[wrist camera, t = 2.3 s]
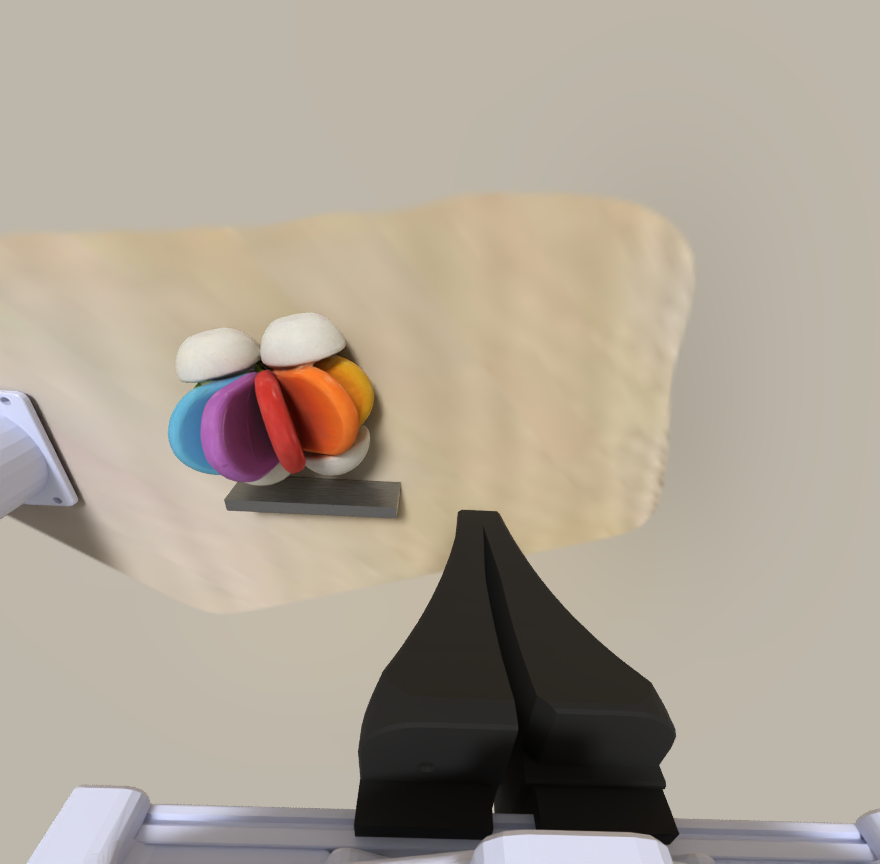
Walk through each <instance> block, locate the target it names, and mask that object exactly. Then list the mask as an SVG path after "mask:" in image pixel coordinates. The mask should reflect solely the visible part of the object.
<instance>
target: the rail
mask: <svg viewBox="0 0 880 864" xmlns="http://www.w3.org/2000/svg"><path fill="white" fill-rule="evenodd" d="M399 498H400V482H381V481H360V480H340V479H319V478H298V477H286V478H285V479H283V480H281V481H279V482H277V483H274V484H271V485H265V486H257V485H250V484H247V483H244V482H237V484H236V485H235V486H234V488H233V489H232V490H231V492H230V493H229V494H228V495H227V497H226V498H225V499H224V501H225V505H226V508H227V510H228V511H250V512H271V513H293V514H315V515H336V516H358V517H380V518H397V512H398V505H399Z"/></svg>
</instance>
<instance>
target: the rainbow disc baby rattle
mask: <svg viewBox="0 0 880 864" xmlns="http://www.w3.org/2000/svg"><path fill="white" fill-rule="evenodd" d="M345 345H346V342H345V339H344V337H343V335H342V333H341V332H340V330H339V329H338V328H337V327H336V326H335V325H334V324H333V323H332V322H331V321H330V320H329V319H327V318H325V317H324V316H322V315H320V314H317V313H300V314H294V315H290V316H285V317H282V318H279V319H276V320H275V321H273V322H272V323H271V324H270V325H269V326H268V328H267V329H266V331H265V333H264V335H263V337H262V341H261V347H260V346H259V345H258V344H257V342H256V341H255V340H254V339H253V338H251V337H250V336H248V335H247V334H245V333H243V332H241V331H239V330H236V329H233V328H218V329H213V330H209V331H205V332H201V333H198V334H195V335H193V336H190V337H189V338H187V339H186V340H185V341H184V342H183V344H182V345H181V347H180V349H179V351H178V353H177V357H176V372H177V376H178V379H179V380H180V381H182V382H186V383H190V382H191V383H195V382H198V384H197V385H196V386H195V387H194V389H193V390H191V391H190V392H188V393H187V394H186V395H185V396H184V397H183V398H182V399H181V400H180V402H179V403H178V404H177V406H176V407H175V409H174V411H173V413H172V415H171V418H170V421H169V427H168V438H169V442H170V446H171V448H172V450H173V453H174V454H175V456H176V457H177V458H178V459H179V460H180V461H181V462H182V463H184V464H185V465H187V466H188V467H190V468H192V469H194V470H196V471H199V472H202V473H207V474H213V475H222V476H224V477H225V478H227V479H230V480H233V481H236V482H244V483H247V484H250V485H257V486H265V485H271V484H274V483H277V482H279V481H281V480H283V479H285V478H286V477H287V476H289V475H290V474H291V473H292V474H294V473H297V472H300V471H302V470H303V469H304V467H305V466H306V467H308V468H309V469H310V470H312V471H314V472H316V473H319V474H323V475H341V474H344V473H347V472H349V471H351V470H352V469H354V468H355V467H357V466H358V465H359V464H360V463H361V462H362V460H363V459H364V457H365V456H366V454H367V452H368V449H369V444H370V433H369V430H368V428H367V427H366V426H364V425H362V424H363V423H364V422H365V420H366V419H367V418H368V416H369V415H370V413H371V410H372V407H373V404H374V390H373V387H372V384H371V382H370V380H369V378H368V377H367V375H366V374H365V373H364V371H363V370H362V369H361V368H359V367H358V366H357V365H356V364H355V363H353V362H352V361H350V360H348V359H345V358H343V357H340V356H339V355H333V354H336V353H338V352H340V351H341V350H342V349H344V348H345ZM260 360H262V362H263V363H264V364H265V365H266V366H268V367H269V368H271V369H273V371H270V370H269V369H268V370H263V369H262V368H261V367H260V366H258V365H254V364H256V363H257V362H258V361H260Z"/></svg>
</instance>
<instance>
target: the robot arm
mask: <svg viewBox="0 0 880 864" xmlns="http://www.w3.org/2000/svg"><path fill="white" fill-rule="evenodd" d="M77 502H78V497H77V495H76V493H75V491H74V489H73V487H72V485H71V483H70V481H69V479H68V477H67V475H66V473H65V471H64V469H63V467H62V465H61V462H60V460H59V458H58V456H57V454H56V452H55V450H54V448H53V446H52V444H51V442H50V440H49V438H48V436H47V434H46V432H45V430H44V428H43V426H42V424H41V422H40V420H39V418H38V415H37V413H36V411H35V409H34V407H33V405H32V403H31V401H30V399H29V398H28V396H26V395H25V394H24V393H22V392H19V391H6V390H0V519H2V518H3V517H5V516H6V515H7V514H9V513H10V512H12V511H13V510H15V509H16V508H18V507H19V506H21V505H22V504H29V505H50V506H73V505H74V504H75V503H77ZM675 738H676V733H675V728H674V725H673V723H672V721H671V719H670V717H669V714H668V712H667V710H666V708H665V706H664V704H663V702H662V700H661V699H660V697H659V695H658V694H657V692H656V690H655V688H654V687H653V685H652V683H651V682H650V681H648V680H647V679H646V678H644V677H643V676H642V675H640V674H639V673H638V672H637V671H635V670H634V669H633V668H631V667H630V666H629V665H627V664H626V663H625V662H623V661H622V660H621V659H620V658H618V657H617V656H616V655H615V654H613V653H612V652H611V651H610V650H608V648H606V647H605V646H604V645H603V644H602V643H601V642H599V641H598V640H597V639H596V638H595V637H594V636H593V635H592V634H591V633H590V632H589V631H588V630H587V629H586V628H585V627H584V626H583V625H581V624H580V623H579V622H578V621H577V620H576V619H575V618H574V617H573V616H572V615H571V614H570V612H569V611H568V610H567V609H566V608H565V607H564V606H563V605H562V604H561V603H560V602H559V600H558V599H557V598H556V597H555V596H554V595H553V594H552V592H551V591H550V590H549V589H548V588H547V586H546V585H545V584H544V582H543V581H542V580H541V579H540V577H539V576H538V575H537V573H536V572H535V571H534V569H533V568H532V566H531V565H530V564H529V562H528V561H527V559H526V558H525V556H524V555H523V553H522V552H521V550H520V549H519V547H518V546H517V544H516V542H515V541H514V539H513V537H512V536H511V534H510V532H509V531H508V529H507V527H506V525H505V523H504V521H503V519H502V518H501V516H500V514H499V513H498V512H497V511H477V510H461V511H459V512H458V517H457V527H456V536H455V540H454V544H453V547H452V550H451V554H450V557H449V559H448V562H447V564H446V567H445V570H444V572H443V575H442V577H441V579H440V582H439V584H438V586H437V588H436V590H435V592H434V594H433V596H432V598H431V600H430V602H429V604H428V605H427V607H426V609H425V611H424V613H423V614H422V616H421V618H420V619H419V621H418V623H417V624H416V626H415V627H414V629H413V630H412V632H411V633H410V635H409V636H408V638H407V639H406V641H405V643H404V644H403V645H402V647H401V648H400V650H399V651H398V652H397V654H396V655H395V656H394V658H393V659H392V660H391V662H390V663H389V664H388V665H387V667H386V668H385V669H384V671H383V672H382V675H381V677H380V679H379V681H378V683H377V685H376V688H375V690H374V692H373V694H372V697H371V699H370V702H369V704H368V707H367V709H366V712H365V715H364V719H363V723H362V727H361V734H360V741H359V749H358V757H359V767H360V785H359V792H358V799H357V806H356V809H355V810H354V809H320V808H284V807H281V808H280V807H249V806H248V807H247V806H212V805H178V804H151V803H150V800H149V797H148V795H147V794H146V793H145V792H144V791H143V790H141V789H138V788H135V787H129V786H108V785H107V786H106V785H105V786H104V785H80V786H78V787H76V788H75V789H74V790H73V792H72V793H71V795H70V796H69V798H68V799H67V801H66V803H65V804H64V806H63V807H62V809H61V810H60V812H59V814H58V815H57V817H56V818H55V820H54V822H53V823H52V824H51V826H50V828H49V829H48V831H47V833H46V834H45V835H44V837H43V839H42V840H41V842H40V843H39V845H38V846H37V848H36V849H35V851H34V853H33V854H32V856H31V857H30V859H29V860H28V862H27V864H880V809H876V810H872V811H869V812H867V813H865V814H863V815H862V816H860V817H859V818H858V819H857V820H856V823H817V822H783V821H748V820H712V819H677V818H673V816H672V813H671V810H670V808H669V805H668V803H667V800H666V798H665V795H664V792H663V790H662V789H665V787H666V781H665V779H664V777H663V774H662V772H661V769H660V766H659V764H660V763H661V761H662V760H663V759H664V757H665V756H666V754H667V753H668V752H669V750H670V749H671V747H672V745H673V742H674V740H675ZM493 803H494V811H495V813H492V807H493Z"/></svg>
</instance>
